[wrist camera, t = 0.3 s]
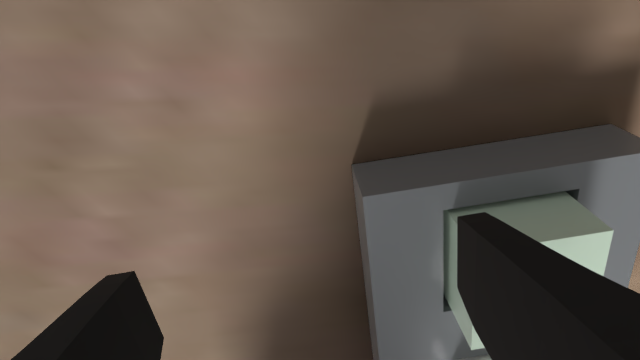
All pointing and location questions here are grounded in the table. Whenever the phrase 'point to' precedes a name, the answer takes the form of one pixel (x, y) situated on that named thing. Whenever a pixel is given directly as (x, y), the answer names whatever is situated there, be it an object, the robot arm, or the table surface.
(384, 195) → the button housing
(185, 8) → the table surface
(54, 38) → the table surface
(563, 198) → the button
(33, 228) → the table surface
